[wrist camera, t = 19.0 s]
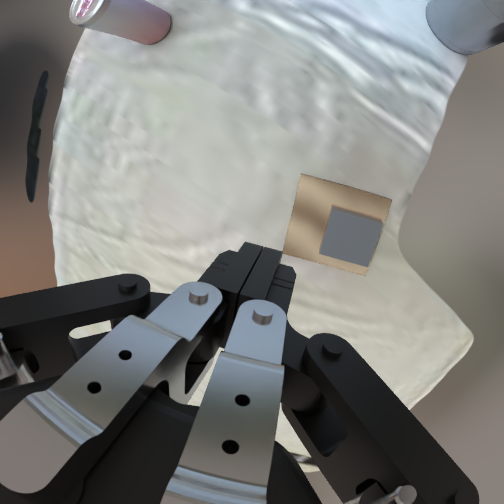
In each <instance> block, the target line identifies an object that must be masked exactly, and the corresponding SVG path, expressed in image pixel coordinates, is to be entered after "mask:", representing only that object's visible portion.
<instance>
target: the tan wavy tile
mask: <svg viewBox="0 0 504 504" xmlns="http://www.w3.org/2000/svg"><path fill="white" fill-rule="evenodd" d="M391 202H392V200H391V199H388V198H385V197H382V196H379V195H376V194H372V193H369V192H366V191H363V190H359V189H356V188H352V187H349V186H345V185H342V184H338V183H335V182H331V181H327V180H324V179H320V178H316V177H312V176H308V175H304V174H301V176H300V180H299V184H298V189H297V193H296V198H295V202H294V206H293V210H292V215H291V219H290V223H289V227H288V231H287V236H286V240H285V244H284V248H283V254H287V255H290V256H294V257H298V258H302V259H305V260H309V261H313V262H316V263H320V264H324V265H327V266H331V267H335V268H338V269H342V270H346V271H349V272H353V273H357V274H360V275H364V276H366V273H367V271H368V268H369V266H368V267H364V266H361V265H357V264H354V263H350V262H346V261H343V260H339V259H336V258H332V257H328V256H325V255H321V254H319V248H320V244H321V240H322V237H323V233H324V230H325V226H326V223H327V219H328V216H329V212H330V209H331V205H332V204H334V205H337V206H341V207H344V208H348V209H351V210H354V211H358V212H361V213H365V214H368V215H371V216H374V217H378V218H380V219H381V221H382V222H383V226H384V223H385V220H386V217H387V214H388V211H389V208H390V205H391ZM382 229H383V227H382ZM381 232H382V230H381ZM380 235H381V233H380ZM379 238H380V236H379ZM378 241H379V239H378ZM377 244H378V242H377ZM377 244H376V246H377ZM375 249H376V247H375ZM374 252H375V250H374ZM373 255H374V253H373ZM373 255H372V257H373ZM371 260H372V258H371ZM370 263H371V261H370ZM370 263H369V265H370Z"/></svg>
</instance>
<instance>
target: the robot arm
mask: <svg viewBox="0 0 504 504" xmlns="http://www.w3.org/2000/svg"><path fill="white" fill-rule="evenodd" d="M426 17H427V21H428V23H429V26H430V28H431V29H432V31H433V33H434V34H435V35H436V37H437V38H438V39H439V40H440V41H441V42H442V43H443V44H444V45H446V46H447V47H448V48H450V49H452V50H453V51H455V52H458V53H460V54H465V55H471V54H475V53H478V52H480V51H482V50H485V49H487V48H490V47H493V46H495V45H497V44H500V43H503V42H504V0H431V1H430V2H429V3H428V5H427V8H426ZM282 253H283V252H282V251H278V250H275V249H271V248H267V247H264V249H263V246H259V245H256V244H252V243H248V242H245V243H244V244H243V245H242V247H241V248H240V250H239V251H238V252H235V251H231V250H228V251H226V252H223V253H221V254H219V255H218V257H217V258H216V259H215V260H214V262H213V263H212V264H211V265H210V267H209V268H208V269H207V270H206V271H205V272H204V274H203V275H202V276H201V277H200V279H199V280H198V281H197V282H188V283H185V284H183V285H181V286H179V287H178V288H177V289H176V290H175V291H174V292H173V293H172V294H165V293H156V292H150V283H149V281H148V280H147V279H146V278H144V277H142V276H140V275H136V274H120V275H115V276H110V277H105V278H100V279H95V280H89V281H84V282H79V283H74V284H69V285H64V286H59V287H54V288H49V289H44V290H38V291H33V292H29V293H23V294H18V295H13V296H9V297H4V298H0V504H322V503H321V501H320V499H319V498H318V496H317V494H316V493H315V491H314V489H313V488H312V486H311V484H310V483H309V481H308V479H307V478H306V476H305V474H304V472H303V471H302V469H301V467H300V466H299V464H298V462H297V461H296V460H295V459H294V457H293V456H292V455H291V454H290V453H289V452H288V451H287V450H286V449H285V448H284V447H283V446H282V445H280V444H279V443H278V442H277V441H275V435H276V429H277V422H278V415H279V408H280V402H281V403H282V404H281V406H282V411H283V413H284V414H285V416H286V418H287V419H288V421H289V423H290V424H291V426H292V427H293V429H294V431H295V432H296V434H297V435H298V437H299V438H300V440H301V442H302V443H303V445H304V446H305V448H306V449H307V451H308V452H309V454H310V455H311V457H312V458H313V460H314V462H315V463H316V465H317V466H318V468H319V469H320V471H321V472H322V474H323V475H324V476H325V478H326V479H327V481H328V482H329V484H330V485H331V486H332V488H333V490H334V491H335V492H336V494H337V495H338V497H339V498H340V499H341V501H342V502H343V504H479V495H478V491H477V489H476V487H475V485H474V484H473V483H472V482H471V481H470V479H469V478H468V477H467V476H466V475H465V474H464V473H463V471H462V470H461V469H460V468H459V467H458V466H457V464H456V463H455V462H454V461H453V460H452V459H451V457H450V456H449V455H448V454H447V453H446V452H445V451H444V449H443V448H442V447H441V446H440V445H439V444H438V443H437V441H436V440H435V439H434V438H433V437H432V436H431V435H430V433H428V431H427V430H426V429H425V428H424V427H423V425H422V424H421V423H420V422H419V421H418V420H417V419H416V417H415V416H414V415H413V414H412V413H411V412H410V411H409V410H408V408H407V407H406V406H405V405H404V404H403V403H402V402H401V401H400V399H399V398H398V397H397V396H396V395H395V394H394V393H393V392H392V390H391V389H390V388H389V387H388V386H387V385H386V384H385V383H384V381H383V380H382V379H381V378H380V377H379V376H378V375H377V374H376V372H375V371H374V370H373V369H372V368H371V367H370V366H369V365H368V364H367V362H366V361H365V360H364V359H363V358H362V357H361V356H360V355H359V354H358V352H357V351H356V350H355V349H354V348H353V347H352V346H351V345H350V344H349V343H348V342H347V341H346V340H345V339H343V338H341V337H339V336H337V335H334V334H329V333H320V334H316V335H314V336H312V337H311V338H310V339H309V338H307V337H305V336H303V335H301V334H299V333H298V332H297V331H295V330H294V329H293V328H292V327H291V325H290V324H289V322H288V320H287V312H288V308H289V304H290V300H291V296H292V292H293V287H294V283H295V279H296V273H295V271H294V269H293V267H290V266H286V265H283V264H280V262H281V258H282ZM107 320H110V322H111V329H112V330H111V331H109V332H105V333H100V334H96V335H92V336H88V337H84V338H79V339H75V338H72V337H70V336H69V333H70V332H71V331H72V330H73V329H75V328H77V327H82V326H86V325H90V324H95V323H99V322H103V321H107ZM219 347H221V348H224V351H221V352H220V354H219V356H218V359H217V362H216V364H215V367H214V370H213V373H212V375H211V378H210V381H209V383H208V386H207V389H206V391H205V394H204V397H203V399H202V402H201V405H200V407H199V406H192V405H187V404H188V402H189V400H190V398H191V397H192V395H193V394H194V392H195V391H196V389H197V388H198V386H199V384H200V383H201V381H202V380H203V378H204V377H205V375H206V373H207V372H208V370H209V369H210V367H211V365H212V364H213V360H214V356H215V354H216V352H217V350H218V348H219Z"/></svg>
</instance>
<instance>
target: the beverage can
mask: <svg viewBox="0 0 504 504" xmlns="http://www.w3.org/2000/svg"><path fill="white" fill-rule="evenodd" d="M69 16H70V20H71V22H72V23H74V24H77V25H78V26H80V27H83V28H88V29H92V30H96V31H101V32H105V33H108V34H112V35H116V36H119V37H123V38H126V39H130V40H133V41H136V42H139V43H143V44H153V43H155V42H157V41H159V40H161V39H162V38H163V37H164V36H165V35H166V34H167V32H168V31H169V28H170V24H171V21H170V16H169V14H168V13H167V12H165V11H164V10H162V9H160V8H158V7H156V6H154V5H153V4H151V3H149V2H147V1H145V0H74V1H73V3H72V5H71V8H70V13H69Z"/></svg>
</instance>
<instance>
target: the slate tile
mask: <svg viewBox="0 0 504 504" xmlns="http://www.w3.org/2000/svg"><path fill="white" fill-rule="evenodd" d="M382 227H383V222H382V221H381V219H380V218H378V217H374V216H371V215H368V214H365V213H361V212H358V211H354V210H351V209H348V208H344V207H341V206H337V205H334V204H332V205H331V209H330V212H329V216H328V219H327V223H326V226H325V230H324V233H323V237H322V240H321V244H320V248H319V254H321V255H325V256H328V257H332V258H336V259H339V260H343V261H346V262H350V263H354V264H357V265H361V266H364V267H368V266H369V263H370V261H371V258H372V255H373V253H374V250H375V247H376V244H377V242H378V239H379V236H380V233H381V230H382Z"/></svg>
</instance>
